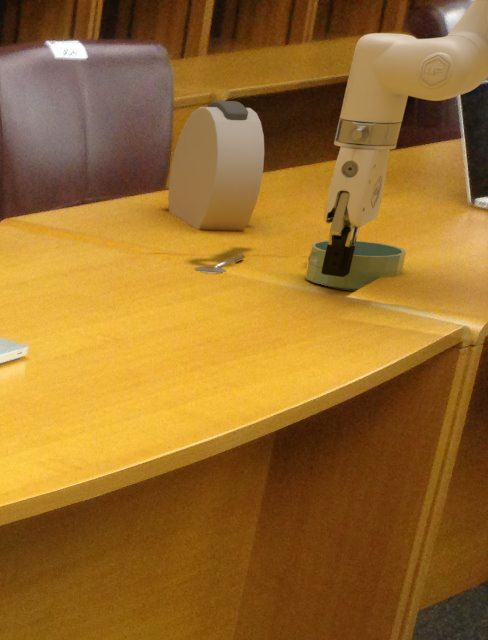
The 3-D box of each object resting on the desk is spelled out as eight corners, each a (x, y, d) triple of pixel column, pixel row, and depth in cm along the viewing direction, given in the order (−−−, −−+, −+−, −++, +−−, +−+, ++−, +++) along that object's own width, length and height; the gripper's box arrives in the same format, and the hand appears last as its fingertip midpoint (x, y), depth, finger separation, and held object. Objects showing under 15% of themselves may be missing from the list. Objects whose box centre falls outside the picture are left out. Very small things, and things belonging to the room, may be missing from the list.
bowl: (409, 283, 217) (417, 247, 215) (379, 297, 209) (388, 260, 207) (322, 271, 224) (330, 236, 222) (291, 284, 216) (298, 248, 214)
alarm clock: (249, 240, 247) (277, 111, 238) (202, 239, 247) (229, 110, 238) (204, 214, 266) (229, 93, 256) (161, 213, 266) (184, 92, 256)
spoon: (226, 258, 233) (228, 251, 233) (256, 261, 231) (257, 255, 230) (188, 275, 222) (190, 268, 222) (219, 279, 220) (220, 272, 219)
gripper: (382, 143, 195) (347, 288, 203) (411, 132, 205) (378, 270, 213) (320, 137, 199) (289, 279, 207) (352, 126, 209) (322, 262, 218)
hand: (334, 274), depth 210 cm, fingers closed
